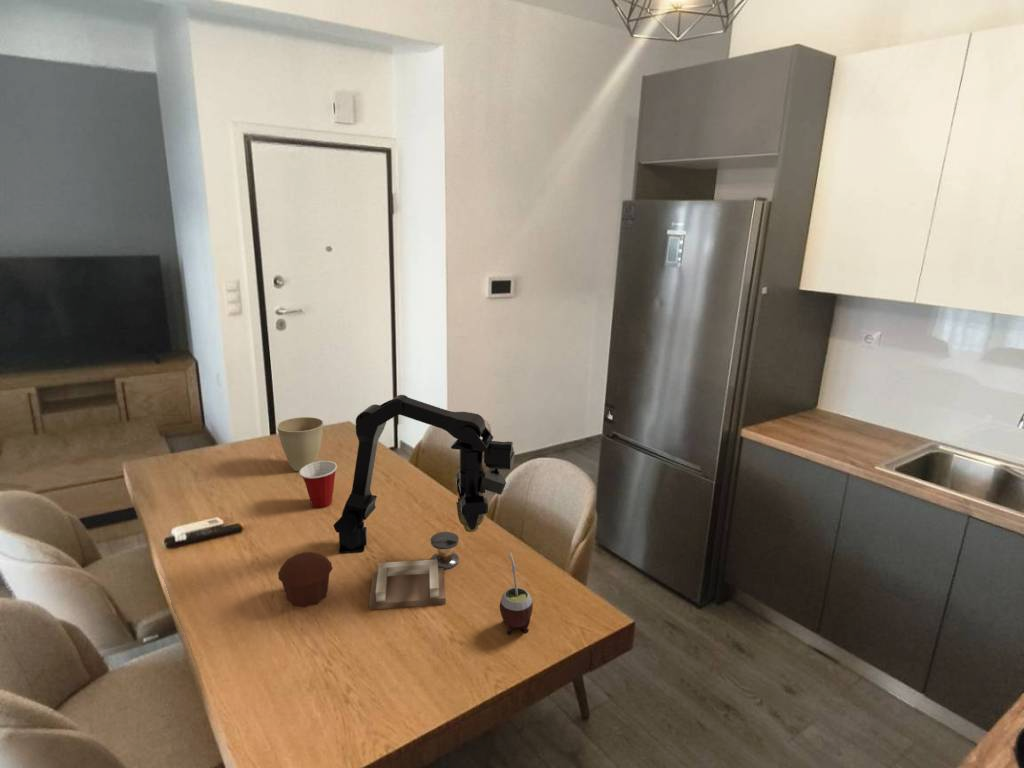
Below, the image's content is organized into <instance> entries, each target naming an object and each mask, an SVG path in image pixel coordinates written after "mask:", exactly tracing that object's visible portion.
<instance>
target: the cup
mask: <svg viewBox="0 0 1024 768" xmlns="http://www.w3.org/2000/svg"><path fill="white" fill-rule="evenodd" d="M464 497H465V496H462V497H461V498H460V497H457V501H456V509H457V510H456V512H457V517H458V520H459V522H460V524H461V525H462V526H463V529H464V530H465V531H466V532H468V533H475V532H477V531H478V529H479V526H480V525H481V524H482V523H483V521H484V520H485V515H486V514H479V517H478V520H477V523H476V526H475V529H474V530H470V528H469V526H468V524H467V521H466V519H465V517H464V515H463V514H462V512H461V507H460V506H461V500H462V499H463V498H464ZM467 497H470V495H469V496H467Z"/></svg>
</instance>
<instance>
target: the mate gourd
mask: <svg viewBox="0 0 1024 768" xmlns="http://www.w3.org/2000/svg"><path fill="white" fill-rule="evenodd" d="M508 554H509V555H508V556H509V558H510V562H511V566H512V567H511V569H512V570H511V571H512V573H513V583H514V584H513V585H514V587H512V588H509V589H507V590H506V591H505V592H504V593H503V594H502V595H501V598H500V602H499V611H500V615H501V618H502V623H504V624H506V626H507V631H506V635H508V636H511V635H512V633H514V632H515V630H519V631H520V632H524V633H526V634H527V633H529V630H530V629H529V628H528V627H529V626H530V622H531V616H532V613H533V609H534V607H533V606H534V605H533V599H532V597H531V594H530V593H529V592H528V591H527V590H526V589H524V588H520V587H518V583H517V573H516V571H517V568H516V564H515V562H514V557H513V554H512V551H508Z"/></svg>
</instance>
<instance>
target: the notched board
mask: <svg viewBox="0 0 1024 768" xmlns="http://www.w3.org/2000/svg"><path fill="white" fill-rule="evenodd" d="M371 578H372V579H371V586H370V593H369V594H370V595H369V601H368V609H369V611H370V610H382V609H396V608H397V609H398V608H407V607H409V608H410V607H419V606H420V607H422V606H423V607H424V606H436V605H446V603H447V602H446V601H447V599H446V585H445V584H446V582H445V569H444V568H438V562H437V559H434V560H431V559H421V560H406V561H391V562H378V570H377V571H375V572H372V577H371Z"/></svg>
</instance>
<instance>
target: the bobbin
mask: <svg viewBox="0 0 1024 768" xmlns="http://www.w3.org/2000/svg"><path fill="white" fill-rule="evenodd" d="M459 542H460V541H459V536H458V535H457V534H456V533H454V532H451V531H440V532H436V533H435V534H433V535H431V537H430V544H431V546H432V547H433V548H434V549H436V553H434V554H433V555H432V556H431V557H430V560H434V559H437V562H438V568H444V570H450V569H453V568H455V567H457V565H458V564H459V559H460V558H459V555H458V554H457V553H455V552H454V549H453V548H455V547H456V546H457V545H458V544H459Z"/></svg>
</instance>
